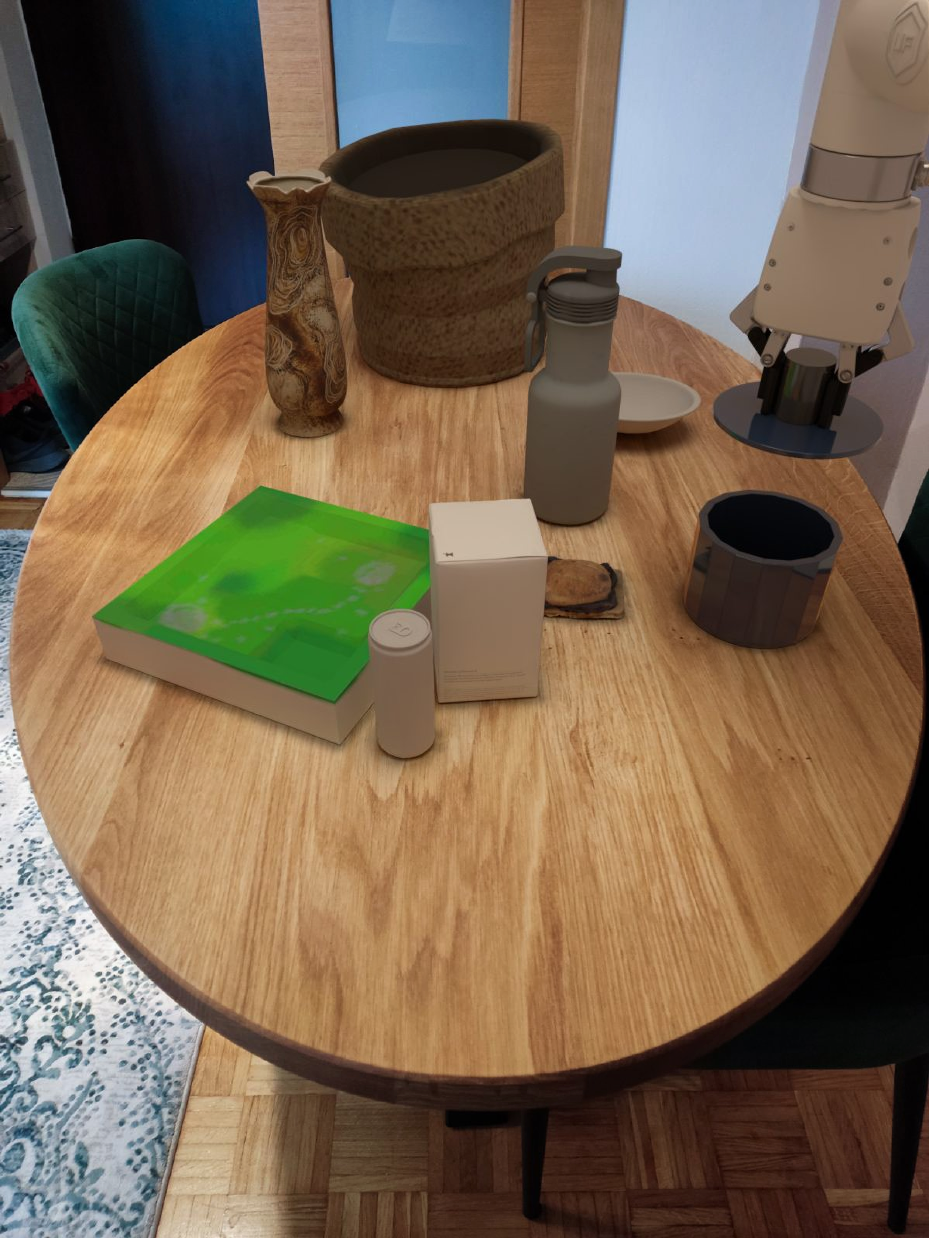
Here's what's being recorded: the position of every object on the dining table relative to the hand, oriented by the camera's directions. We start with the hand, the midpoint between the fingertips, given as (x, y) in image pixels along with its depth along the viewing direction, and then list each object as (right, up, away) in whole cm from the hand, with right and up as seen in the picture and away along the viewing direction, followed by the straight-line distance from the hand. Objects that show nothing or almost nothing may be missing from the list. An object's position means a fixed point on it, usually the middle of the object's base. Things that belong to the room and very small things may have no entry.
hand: (797, 412), depth 73 cm
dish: (-7, +7, +42) cm, 44 cm away
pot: (-31, +25, +64) cm, 75 cm away
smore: (-17, -15, +15) cm, 27 cm away
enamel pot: (0, -16, +13) cm, 21 cm away
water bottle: (-16, -4, +28) cm, 33 cm away
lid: (0, -1, 0) cm, 1 cm away
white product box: (-26, -22, +6) cm, 35 cm away
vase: (-48, +9, +44) cm, 66 cm away
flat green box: (-44, -17, +12) cm, 49 cm away
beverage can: (-33, -27, -1) cm, 43 cm away
